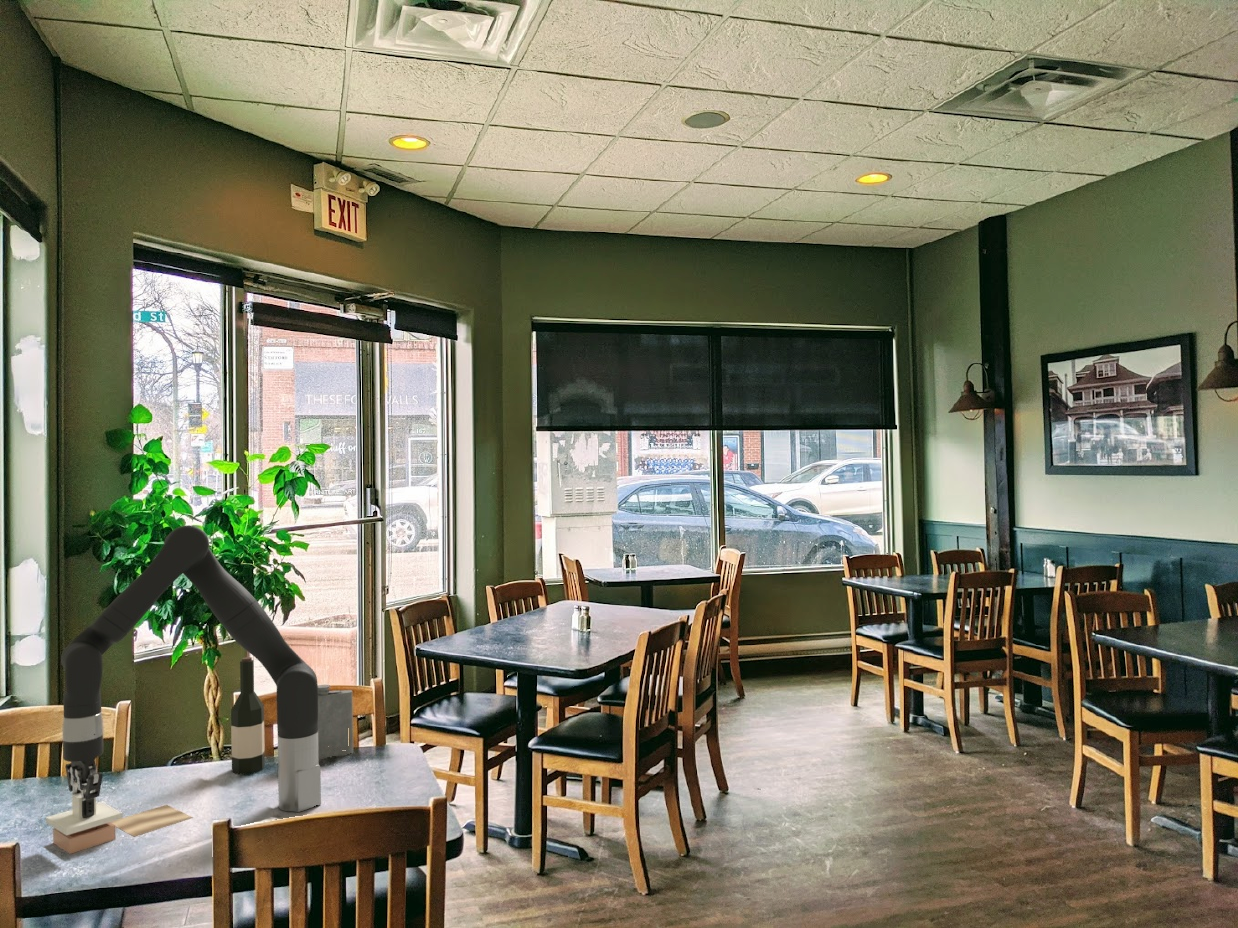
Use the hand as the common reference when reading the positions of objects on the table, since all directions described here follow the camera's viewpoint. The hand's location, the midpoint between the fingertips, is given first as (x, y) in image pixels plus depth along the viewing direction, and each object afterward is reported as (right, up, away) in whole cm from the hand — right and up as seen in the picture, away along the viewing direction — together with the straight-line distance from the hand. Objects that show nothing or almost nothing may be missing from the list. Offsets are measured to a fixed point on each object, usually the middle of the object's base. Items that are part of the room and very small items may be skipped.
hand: (84, 813), depth 193 cm
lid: (0, -1, 0) cm, 1 cm away
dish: (0, -7, 0) cm, 7 cm away
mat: (+9, -7, +11) cm, 16 cm away
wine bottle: (+16, -7, +47) cm, 50 cm away
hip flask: (+33, -6, +56) cm, 66 cm away
